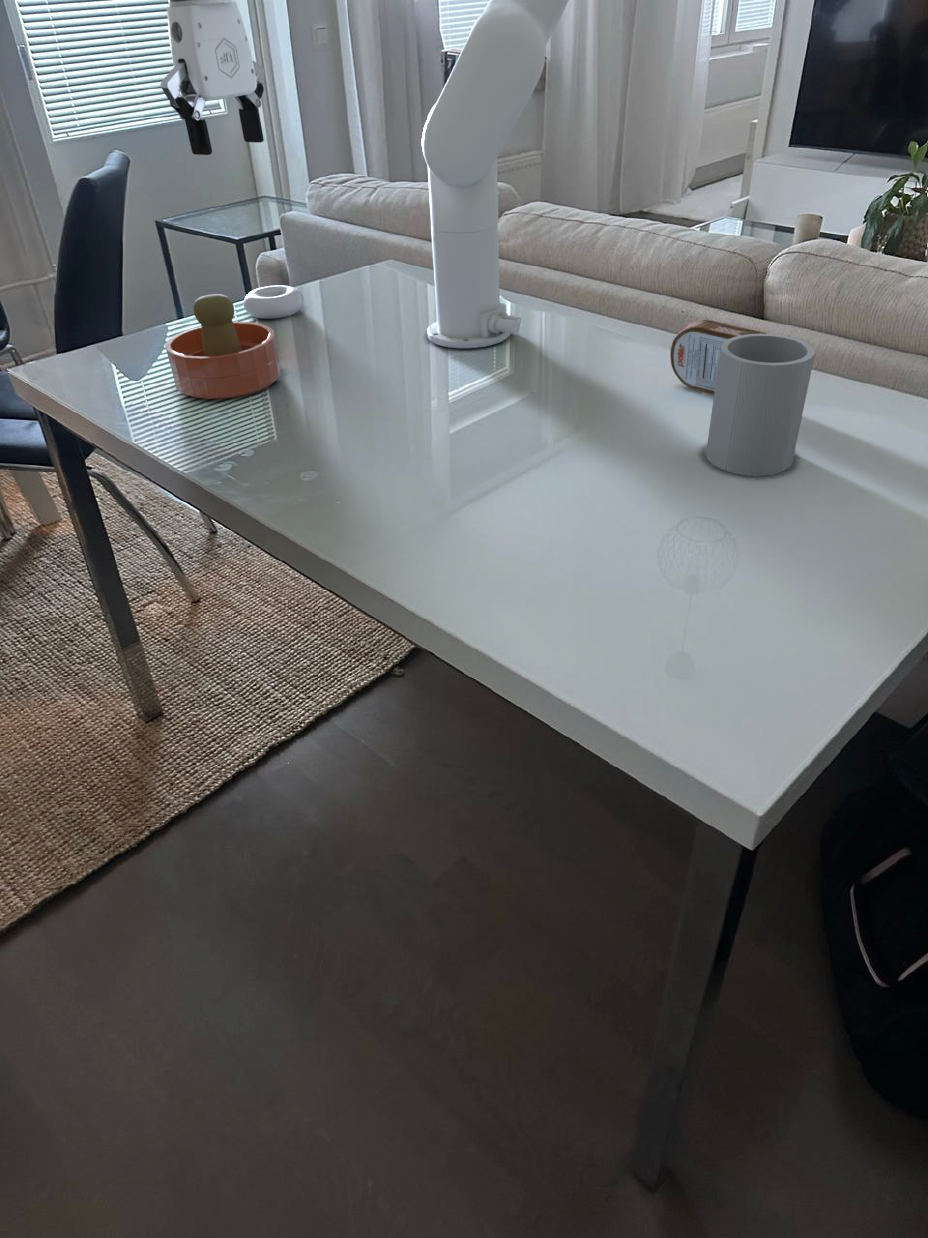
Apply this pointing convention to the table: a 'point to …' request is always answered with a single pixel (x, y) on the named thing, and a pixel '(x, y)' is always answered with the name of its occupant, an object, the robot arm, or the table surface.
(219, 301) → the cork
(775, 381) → the cup
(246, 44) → the robot arm
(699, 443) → the table surface
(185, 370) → the basin
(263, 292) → the donut
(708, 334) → the tin
